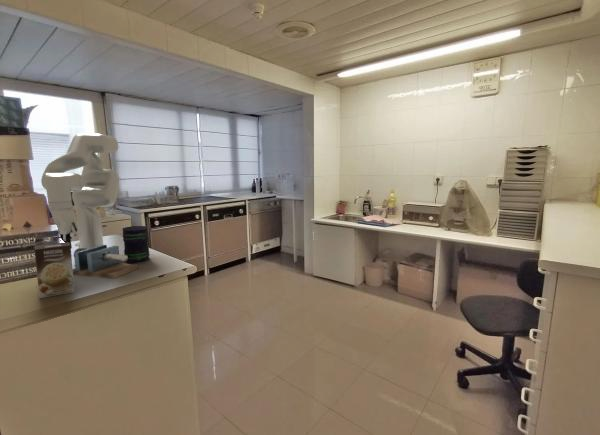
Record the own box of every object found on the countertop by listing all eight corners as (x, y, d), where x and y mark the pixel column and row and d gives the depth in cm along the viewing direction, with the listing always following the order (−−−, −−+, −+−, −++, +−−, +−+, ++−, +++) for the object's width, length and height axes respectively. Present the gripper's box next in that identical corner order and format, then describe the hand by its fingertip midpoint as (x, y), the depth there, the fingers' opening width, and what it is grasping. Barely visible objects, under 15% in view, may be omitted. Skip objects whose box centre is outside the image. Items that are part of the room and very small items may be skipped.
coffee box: (38, 299, 92) (32, 249, 90) (39, 292, 97) (33, 245, 94) (75, 291, 98) (70, 245, 96) (74, 286, 103) (69, 241, 100)
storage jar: (154, 259, 135) (152, 227, 132) (133, 265, 126) (131, 231, 124) (140, 256, 139) (138, 225, 137) (119, 261, 131) (117, 228, 128)
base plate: (70, 273, 115) (70, 269, 115) (97, 264, 126) (97, 260, 126) (114, 278, 111) (113, 274, 110) (137, 268, 122) (137, 264, 122)
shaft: (74, 261, 118) (72, 249, 117) (85, 258, 123) (84, 246, 122) (120, 266, 113) (119, 253, 113) (130, 262, 118) (129, 250, 117)
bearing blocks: (75, 270, 114) (73, 252, 112) (104, 261, 126) (102, 244, 125) (92, 272, 112) (91, 254, 111) (119, 262, 124) (118, 245, 123)
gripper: (36, 205, 117) (42, 250, 120) (66, 208, 114) (72, 253, 117) (55, 203, 124) (61, 245, 127) (84, 205, 121) (89, 248, 124)
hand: (66, 249), depth 122 cm, fingers closed
